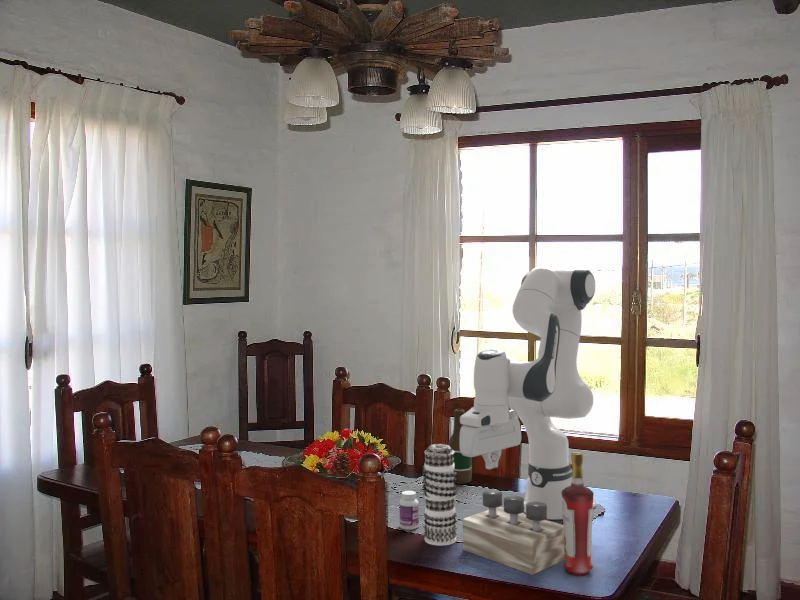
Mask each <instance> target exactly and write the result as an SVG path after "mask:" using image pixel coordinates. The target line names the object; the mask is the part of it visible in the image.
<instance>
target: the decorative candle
mask: <svg viewBox="0 0 800 600" xmlns="http://www.w3.org/2000/svg"><path fill="white" fill-rule="evenodd" d="M423 452H424V465H423V466H422V467H421V469H422V472H421V474H422V477H423V479H422V482H423V485H422V488H423V490H424V492H423V497H424V499H425V508H424V512H425V513H424V514H423V516H424V520H423V521H424V524H425V525H424V526H423V529H424V532H423V534H424V542H425V543H427V544H428V545H432V546H439V547H441V546H444V547H445V546H450V545H453V544H454V543H456V542H457V541H458V540H457V536H458V533H457V529H458V528H457V525H456V523H457V522H458V521H457V519H456V518H457V516H458V515H457V513H456V506H455V498H456V497H457V492H456V489H457V486H456V484H454V482H456V481H457V479H456V478H455V476H456V475H457V473H456V472H455V471H453V470H454V469H455V467H454V461H453V460H454V456H453V454H454V453H455V451H454V450H452V449H451V447H450V446H448V444H446V443H445V444H444V443H434V444H431V445H429V446H428V447H427V448H426V449H425V450H424V451H423Z"/></svg>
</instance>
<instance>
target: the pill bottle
mask: <svg viewBox="0 0 800 600" xmlns="http://www.w3.org/2000/svg"><path fill="white" fill-rule="evenodd" d="M398 506H399V527H400V528H401V529H402V530H406V531H409V530H412V531H413V530H416V529H417V528H419V526H420V522H419V521H420V514H419V513H420V512H419V508H420V506H419V500H418V499H417V492H416V491H414V490H404V491H402V492H401V499H400V500H399V505H398Z"/></svg>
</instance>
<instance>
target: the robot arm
mask: <svg viewBox="0 0 800 600" xmlns="http://www.w3.org/2000/svg"><path fill="white" fill-rule="evenodd" d="M595 292H596V280H595V277H594V274H593V273H592V272H591V271H590V270H589V269H586V268H582V267H576V268H575V267H574V268H573V267H555V268H550V267H546V266H537V267H534V268H533V269H531V270H530V271H529V272H527V273H526V274H525V275H524V276H523V277H522V280H521V283H520V286H519V288H518V292H517V294H516V297H515V298H514V301H513V305H512V316H513V318H514V320H515V322H516V323H517V324H518V325H519V326H520V327H521V328H522V329H523V330H525V331H526V332H528V333H529V334H530V333H531V334H533V335H535V336H537V337H539V338H540V341H539V346H538V351H537V352H538V353H537V358H536V359H535V360H531V361H524V360H514V359H513V360H512V359H509V358H508V357H507V354H506V352H505V351H504V350H502V349H485V350H482V351H480V352H478V353H477V354H476V357H475V360H474V369H473V387H474V388H473V389H474V394H475V395H474V399H473V406H472V407H471V408H470V409H468V410H467V411H466V412H465V413H464V414H463V415H462V416H461V417H460V423H461V424H463V426H462V427H461V430H460V452H461V454H462V455H463V456H467V457H472V458H474V457H478V456H482V458H483V460H484V462H485V463H484V464H485V469H486V470H493V469H496V468H498V467H499V460H500V458H501V455H502V450H505V449H508V448H512V447H516V446H519V445H520V444H521V442H522V430H521V422H522V424H523V426H524V428H525V431H526V434H527V438H528V447H529V448H528V449H529V462H528V464H527V465H528V466H527V474H528V476H529V477H528V478H527V479H526V485H525V486H526V487H525V495H524V514H526V504H527V503H529V502H542V503H545V504H546V505H547V519H546V520H563V512H562V490H563V489H565V488H566V487H568V486H571V478H572V461H571V462H570V463H569V439H568V437H567V434H566V433H565V432H564V431H562V430H560V429H559V428H557V427H556V425H555V424H554V423H553V421H552V419H551V418H559V419H567V420H569V419H571V420H573V419H579V418H580V419H581V418H585V417H587V416H588V414H589V413H590V412H591V411H592V408H593V405H594V394H593V391H592V390H591V387H589V386H588V384H587V383H586V382H585V381H583V379H582V378H581V376H580V374H579V371H578V366H577V364H578V363H577V361H578V359H577V357H578V352H579V344H580V340H581V333H582V323H583V322H582V318H583V317H582V310H584V309H585V308H586V307H587V305H588V304H589V303H590V302H591V301H592V299H593V297H594V295H595ZM519 419H520V420H519ZM520 421H521V422H520ZM594 508H596V502H594V501H593V509H594Z"/></svg>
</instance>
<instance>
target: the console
mask: <svg viewBox="0 0 800 600" xmlns="http://www.w3.org/2000/svg"><path fill="white" fill-rule="evenodd" d="M496 512H497V518H494V519H492V518H489V509H487V510H484V511H481V512H478V513H475V514H472V515H469V516H467V517H466V516H465V517H464V518H462V520H461V521H462V550H463V551H465V552H468V553H471V554H473V555H476V556H479V557H482V558H484V559H488V560H490V561H493V562H495V563H498V564H501V565H504V566H507V567H510V568H512V569H516V570H518V571H521V572H523V573H526V574H528V575H532V576H533V575H535V574H537V573H540V572H541V571H543V570H546V569H548V568H550V567H552V566H555V565H557V564H559V563H561V562H564V561H565V545H564V526H563V524H560V523H557V522H554V521H551V520H548V519H546V520H542V521H541V531H540V532H534V531H533V526H532V520H529V519H527V518H526V513H524V512H523V513H520V514H518V525H512V524H510V514H509V513H506V512H504V506H503V507H502V506H500V507H496Z"/></svg>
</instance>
